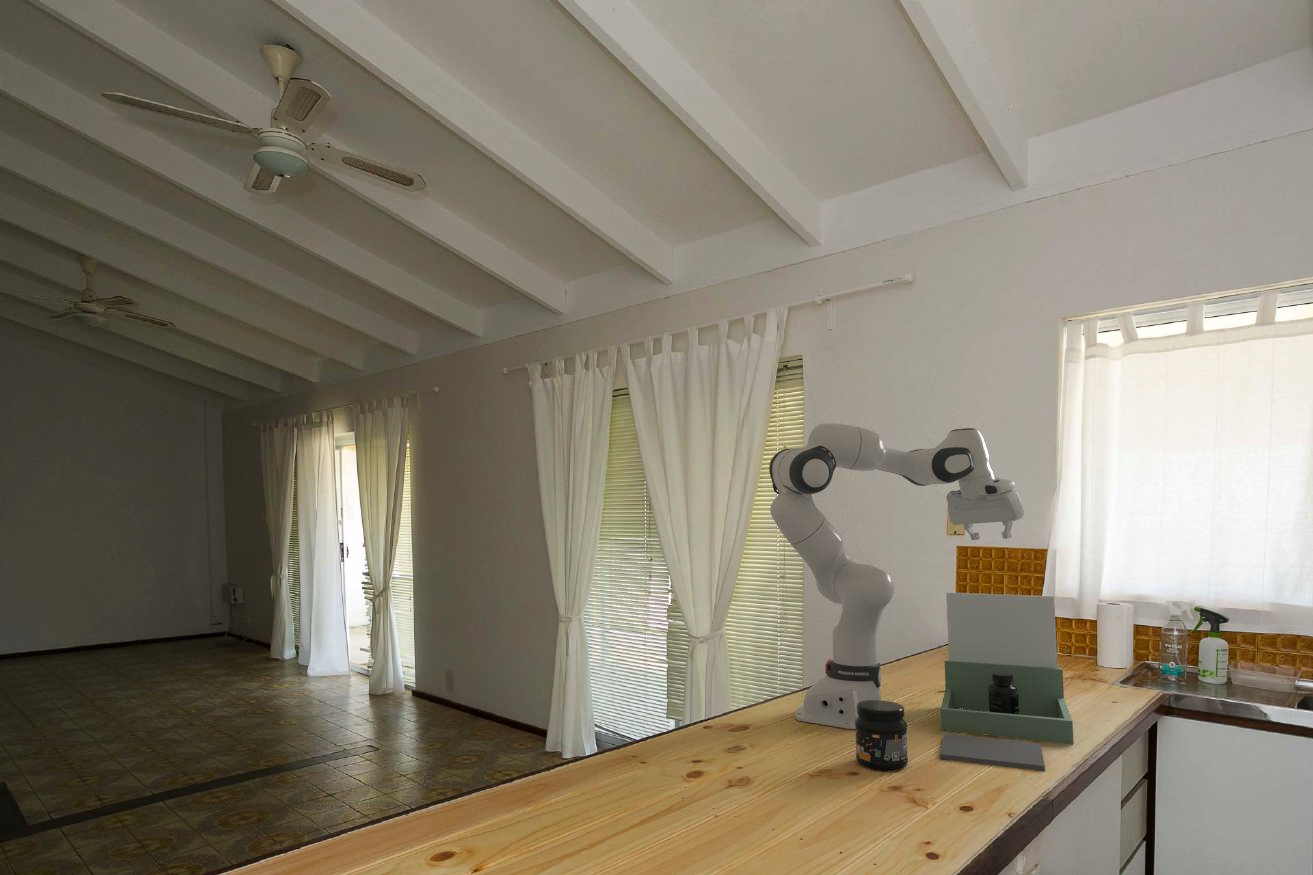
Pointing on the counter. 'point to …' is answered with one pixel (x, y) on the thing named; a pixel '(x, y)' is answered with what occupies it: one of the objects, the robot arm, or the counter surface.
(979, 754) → the mat
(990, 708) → the supplement bottle
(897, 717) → the supplement container
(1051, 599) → the cold frame
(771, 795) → the counter surface
